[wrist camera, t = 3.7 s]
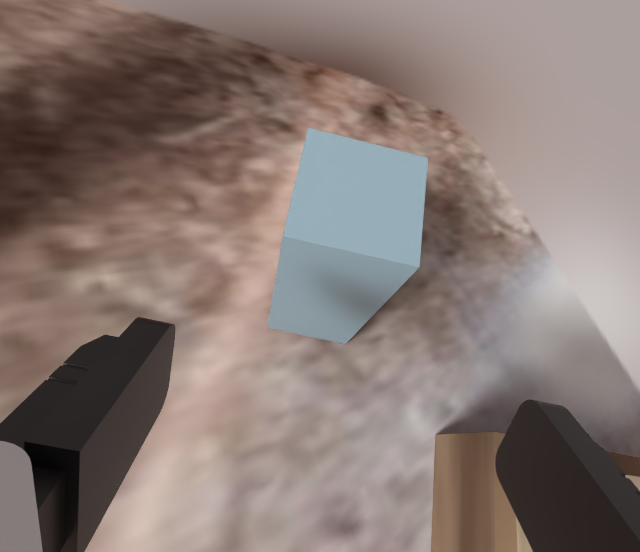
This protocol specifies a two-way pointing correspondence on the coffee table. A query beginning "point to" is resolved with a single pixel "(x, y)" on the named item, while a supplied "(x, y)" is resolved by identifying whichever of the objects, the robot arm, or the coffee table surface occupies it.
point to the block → (347, 236)
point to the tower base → (478, 494)
